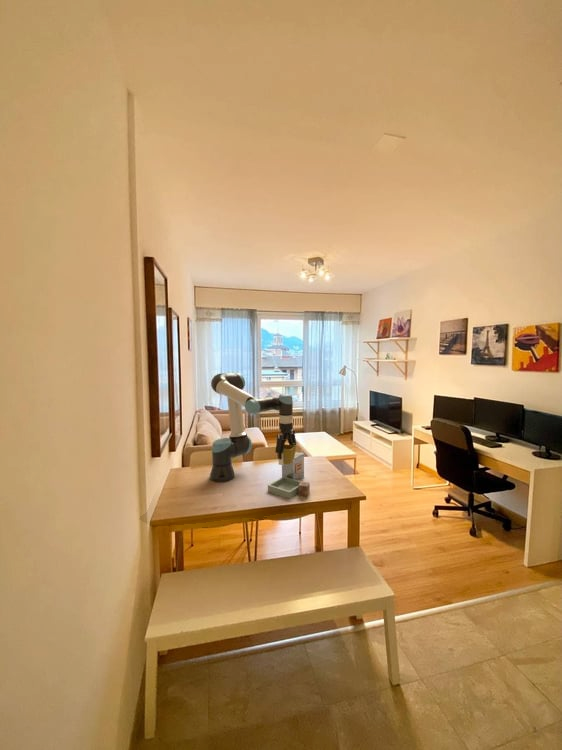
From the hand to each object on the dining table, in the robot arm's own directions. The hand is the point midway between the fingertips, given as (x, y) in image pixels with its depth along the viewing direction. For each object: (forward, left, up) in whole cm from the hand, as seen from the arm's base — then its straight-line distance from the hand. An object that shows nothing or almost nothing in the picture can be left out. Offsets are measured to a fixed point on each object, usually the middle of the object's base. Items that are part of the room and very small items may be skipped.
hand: (286, 462), depth 170 cm
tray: (0, 0, -16) cm, 16 cm away
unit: (-6, +15, -16) cm, 23 cm away
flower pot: (0, 0, 0) cm, 0 cm away
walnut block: (+11, +1, -16) cm, 20 cm away
